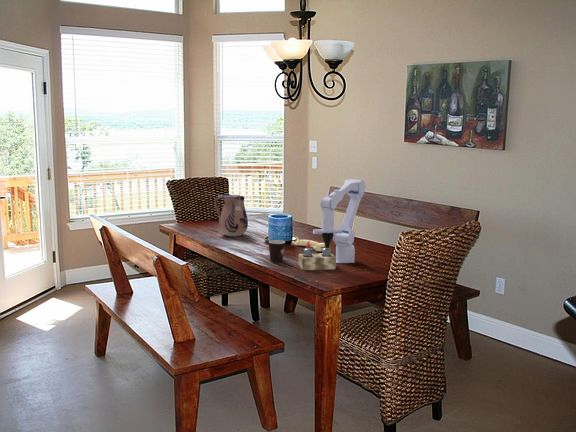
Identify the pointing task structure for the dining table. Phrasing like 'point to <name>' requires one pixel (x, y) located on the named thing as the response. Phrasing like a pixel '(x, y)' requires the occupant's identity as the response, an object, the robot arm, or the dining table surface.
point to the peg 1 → (308, 252)
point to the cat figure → (308, 243)
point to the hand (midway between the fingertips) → (326, 247)
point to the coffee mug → (276, 250)
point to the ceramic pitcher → (232, 215)
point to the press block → (317, 262)
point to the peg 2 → (326, 252)
